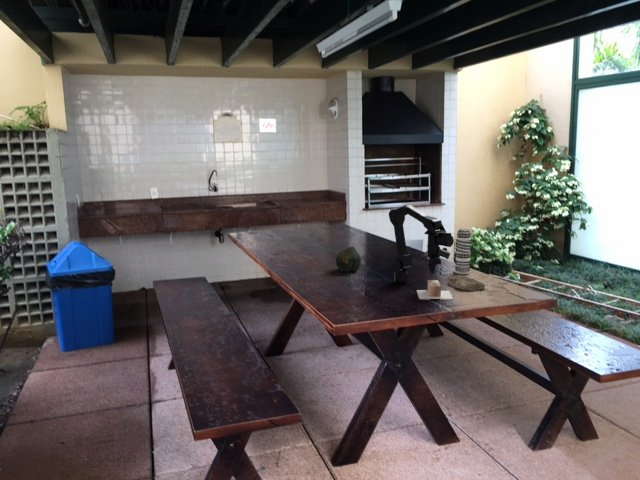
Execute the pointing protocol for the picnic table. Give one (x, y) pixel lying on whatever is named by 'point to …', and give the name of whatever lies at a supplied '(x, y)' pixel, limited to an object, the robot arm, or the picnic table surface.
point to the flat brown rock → (465, 283)
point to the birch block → (434, 288)
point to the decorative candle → (463, 251)
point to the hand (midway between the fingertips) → (432, 274)
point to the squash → (348, 260)
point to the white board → (425, 295)
